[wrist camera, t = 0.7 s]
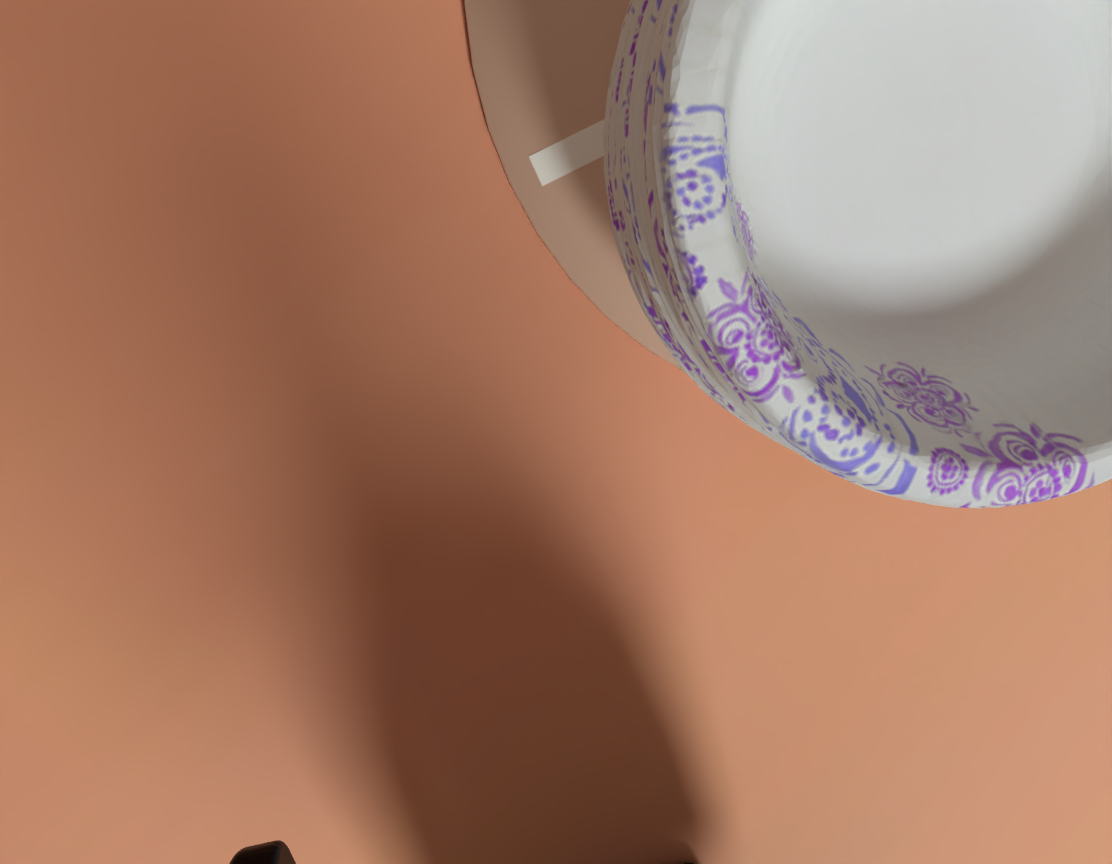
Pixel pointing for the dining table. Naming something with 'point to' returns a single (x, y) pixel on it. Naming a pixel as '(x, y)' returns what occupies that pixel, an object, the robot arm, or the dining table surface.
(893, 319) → the white floral bowl
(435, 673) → the dining table surface
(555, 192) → the centring plate
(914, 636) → the dining table surface
